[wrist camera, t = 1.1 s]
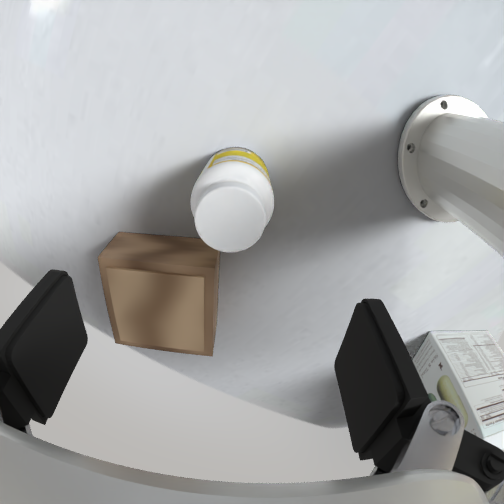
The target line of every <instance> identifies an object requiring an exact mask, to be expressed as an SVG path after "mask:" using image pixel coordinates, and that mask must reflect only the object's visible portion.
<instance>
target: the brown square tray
mask: <svg viewBox="0 0 504 504" xmlns="http://www.w3.org/2000/svg"><path fill="white" fill-rule="evenodd" d="M219 261H220V251H218V250H216V249H213V248H212V247H210V246H209V245H207V244H206V243H205V242H204V241H203V240H202V239H201V238H189V237H177V236H164V235H152V234H139V233H126V232H118V233H117V235H116V236H115V237H114V238H113V239H112V240H111V242H110V243H109V244H108V245H107V246H106V248H105V249H104V250H103V251H102V252H101V254H100V255H99V256H98V262H99V268H100V274H101V280H102V285H103V290H104V295H105V300H106V305H107V309H108V314H109V318H110V322H111V327H112V331H113V335H114V339H115V343H118V344H123V345H129V346H135V347H142V348H148V349H155V350H162V351H170V352H178V353H186V354H195V355H204V356H213V348H214V340H215V333H216V325H217V305H218V282H219Z"/></svg>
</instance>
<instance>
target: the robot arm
mask: <svg viewBox="0 0 504 504" xmlns="http://www.w3.org/2000/svg"><path fill="white" fill-rule="evenodd" d="M440 104H441V106H440ZM408 145H409V147H408V148H407V146H408ZM398 169H399V176H400V180H401V183H402V186H403V189H404V191H405V193H406V195H407V197H408V198H409V200H410V201H411V203H412V204H413V205H414V206H415V207H416V208H417V209H418V210H419V211H420V212H422V213H423V214H424V215H426V216H427V217H429V218H431V219H433V220H435V221H440V222H456V221H460V222H461V223H462V224H464V225H465V226H466V227H468V228H469V229H470V230H471V231H473V232H474V233H475V234H476V235H477V236H479V237H480V238H481V239H482V240H483V241H485V242H486V243H487V244H488V245H489V246H491V247H492V248H493V249H494V250H495V251H496V252H498V253H499V254H500V255H501V256H502V257H503V258H504V122H501V121H497V120H493V119H489V118H488V117H487V115H486V114H485V112H484V111H483V110H482V109H481V108H480V107H479V106H478V105H477V104H475V103H474V102H472V101H470V100H469V99H467V98H464V97H460V96H455V95H440V96H436V97H433V98H431V99H429V100H427V101H425V102H424V103H422V104H421V105H420V106H419V107H418V108H417V109H416V110H415V111H414V112H413V113H412V115H411V116H410V118H409V120H408V121H407V123H406V125H405V127H404V130H403V132H402V135H401V139H400V144H399V149H398ZM87 339H88V338H87V334H86V330H85V326H84V323H83V320H82V316H81V313H80V309H79V305H78V301H77V298H76V294H75V290H74V285H73V281H72V278H71V277H70V276H68V274H67V272H65V271H60V270H50V271H49V272H48V273H47V274H46V275H45V276H44V277H43V278H42V279H41V280H40V282H39V283H38V284H37V285H36V286H35V287H34V288H33V290H32V291H31V292H30V293H29V294H28V295H27V297H26V298H25V299H24V300H23V301H22V302H21V304H20V305H19V306H18V307H17V309H16V310H15V311H14V312H13V314H12V315H11V316H10V317H9V319H8V320H7V321H6V322H5V324H4V325H3V326H2V328H1V329H0V504H504V452H503V451H502V450H501V449H500V448H498V447H496V446H494V445H492V444H491V443H489V442H487V441H485V440H483V439H481V438H479V437H477V436H476V435H474V434H472V433H470V432H468V431H466V430H465V429H464V428H465V421H464V417H463V415H462V413H461V411H460V410H459V409H458V408H457V407H456V406H455V405H453V404H452V403H450V402H447V401H444V400H437V401H433V402H431V401H430V399H429V397H428V394H427V391H426V389H425V387H424V385H423V382H422V380H421V378H420V376H419V374H418V372H417V369H416V367H415V365H414V363H413V361H412V359H411V357H410V355H409V353H408V351H407V349H406V347H405V344H404V342H403V340H402V338H401V336H400V335H399V333H398V331H397V329H396V327H395V325H394V323H393V321H392V319H391V317H390V315H389V313H388V311H387V309H386V308H385V306H384V304H383V302H382V301H381V300H380V299H363V300H362V301H361V303H357V304H356V307H355V309H354V312H353V315H352V318H351V320H350V323H349V326H348V329H347V331H346V334H345V337H344V339H343V342H342V344H341V347H340V349H339V352H338V355H337V357H336V360H335V373H336V377H337V381H338V385H339V389H340V393H341V397H342V402H343V406H344V410H345V415H346V419H347V423H348V428H349V432H350V437H351V441H352V446H353V450H354V451H355V452H356V453H357V452H358V453H359V458H360V460H366V459H373V460H374V465H375V467H374V469H373V471H372V473H371V474H370V476H366V477H359V478H351V479H342V480H331V481H319V482H306V483H305V482H304V483H269V484H268V483H236V482H222V481H221V482H220V481H210V480H200V479H192V478H184V477H177V476H171V475H164V474H159V473H153V472H148V471H143V470H139V469H134V468H130V467H125V466H121V465H117V464H113V463H109V462H106V461H102V460H99V459H95V458H92V457H89V456H85V455H82V454H79V453H76V452H73V451H70V450H67V449H64V448H62V447H59V446H56V445H54V444H51V443H48V442H46V441H43V440H41V439H38V438H36V437H34V436H33V435H32V432H31V429H30V425H29V422H30V420H31V418H32V420H34V421H36V422H39V423H41V424H44V425H45V424H46V421H47V419H48V418H51V417H52V415H53V413H54V411H55V409H56V407H57V404H58V402H59V400H60V398H61V395H62V393H63V391H64V389H65V387H66V385H67V383H68V381H69V379H70V377H71V374H72V372H73V370H74V369H75V366H76V364H77V362H78V361H79V359H80V357H81V354H82V353H83V350H84V349H85V347H86V345H87Z"/></svg>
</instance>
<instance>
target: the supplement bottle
mask: <svg viewBox="0 0 504 504" xmlns="http://www.w3.org/2000/svg"><path fill="white" fill-rule="evenodd" d="M273 210H274V194H273V190H272V186H271V182H270V178H269V174H268V171H267V168H266V166H265V164H264V162H263V160H262V159H261V158H260V157H259V156H258V155H257V154H256V153H254V152H253V151H251V150H249V149H246V148H243V147H229V148H225V149H223V150H221V151H219V152H217V153H216V154H215V155H213V156H212V157H211V159H210V160H209V161H208V163H207V164H206V166H205V167H204V169H203V171H202V172H201V174H200V176H199V178H198V179H197V181H196V183H195V185H194V187H193V190H192V193H191V211H192V214H193V217H194V221H195V227H196V230H197V232H198V234H199V236H200V238H201V239H202V240H203V241H204V242H205V243H206V244H207V245H209V246H210V247H212V248H213V249H216V250H218V251H222V252H239V251H243V250H245V249H247V248H249V247H251V246H252V245H254V244H255V243H256V242H257V241H258V240H259V238H260V237H261V235H262V233H263V231H264V228H265V227H266V225H267V224H268V223H269V221H270V219H271V216H272V214H273Z"/></svg>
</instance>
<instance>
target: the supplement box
mask: <svg viewBox="0 0 504 504" xmlns="http://www.w3.org/2000/svg"><path fill="white" fill-rule="evenodd" d="M412 361H413V363H414V365H415V367H416V369H417V372H418V374H419V376H420V378H421V380H422V382H423V385H424V387H425V389H426V391H427V394H428V397H429V399H430V401H431V402H433V401H437V400H444V401H447V402H450V403H452V404H453V405H455V406H456V407H457V408H458V409H459V410H460V411H461V413H462V415H463V417H464V421H465V428H464V429H465V430H466V431H468V432H470V433H472V434H474V435H476V436H477V437H479V438H481V439H483V440H485V441H487V442H489V443H491V444H492V445H494V446H496V447H498V448H500V449H501V450H503V449H504V353H503V351H502V350H501V348H500V347H499V345H498V344H497V342H496V341H495V339H494V338H493V337H492V335H491V334H490V332H489V331H488V330H487V331H430V332H429V334H428V335H427V337H426V339H425V340H424V342H423V344H422V345H421V347H420V349H419V350H418V352H417V353H416V355H415V357H414V358H413V360H412Z"/></svg>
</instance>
